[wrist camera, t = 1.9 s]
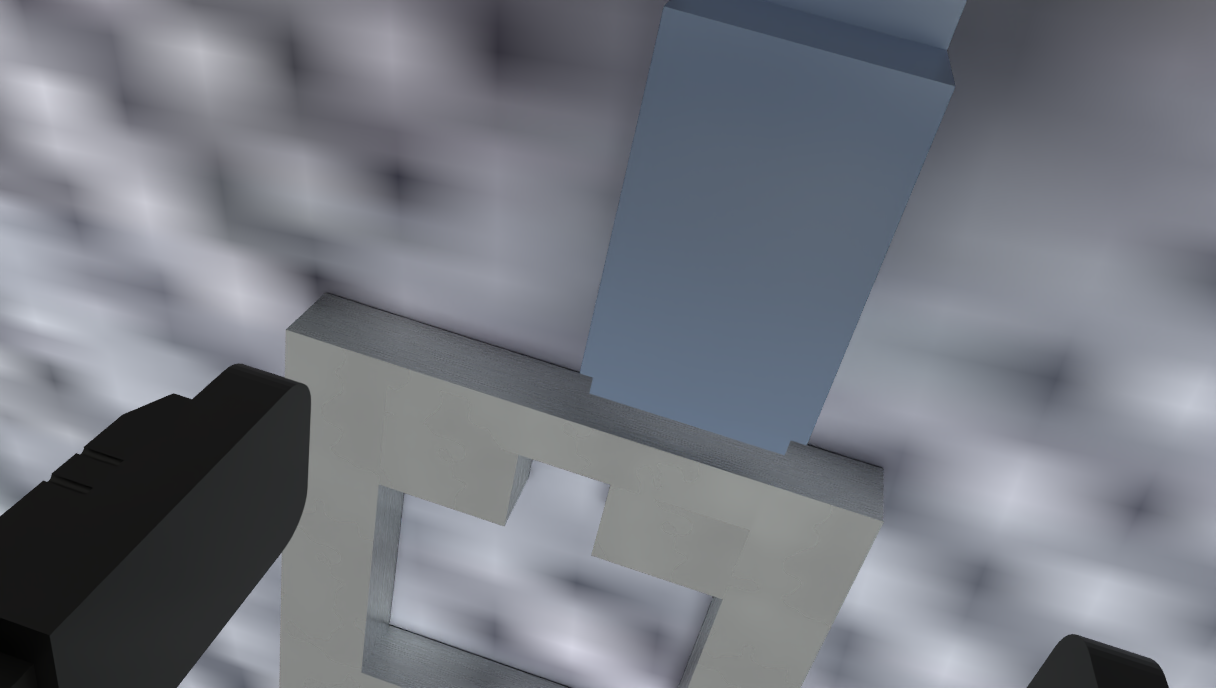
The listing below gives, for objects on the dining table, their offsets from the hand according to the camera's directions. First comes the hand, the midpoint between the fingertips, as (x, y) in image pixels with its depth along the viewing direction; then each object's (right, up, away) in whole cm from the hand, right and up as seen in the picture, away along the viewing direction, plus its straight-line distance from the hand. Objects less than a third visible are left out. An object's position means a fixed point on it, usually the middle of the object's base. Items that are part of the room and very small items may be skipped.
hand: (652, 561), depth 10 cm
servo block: (+3, +6, +10) cm, 13 cm away
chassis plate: (-2, -5, +19) cm, 19 cm away
